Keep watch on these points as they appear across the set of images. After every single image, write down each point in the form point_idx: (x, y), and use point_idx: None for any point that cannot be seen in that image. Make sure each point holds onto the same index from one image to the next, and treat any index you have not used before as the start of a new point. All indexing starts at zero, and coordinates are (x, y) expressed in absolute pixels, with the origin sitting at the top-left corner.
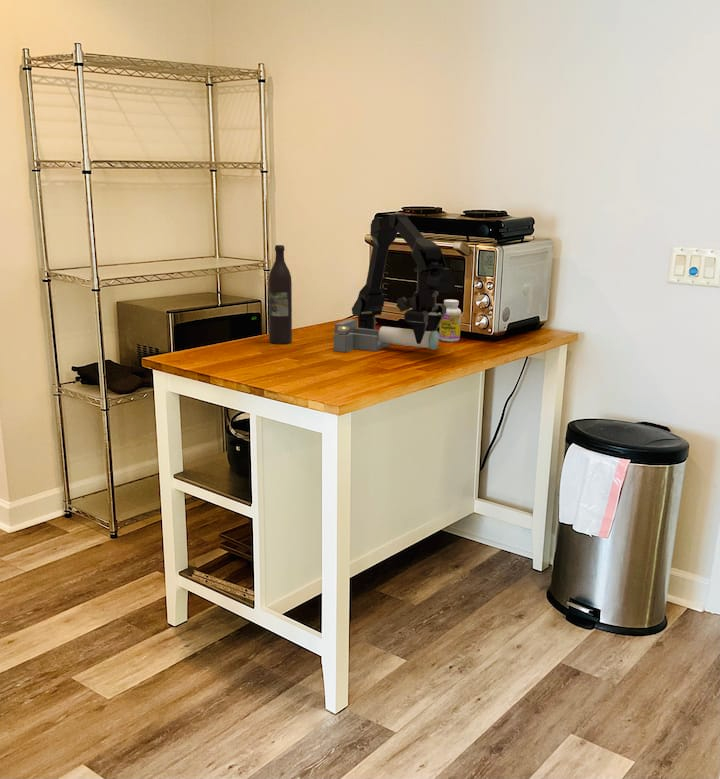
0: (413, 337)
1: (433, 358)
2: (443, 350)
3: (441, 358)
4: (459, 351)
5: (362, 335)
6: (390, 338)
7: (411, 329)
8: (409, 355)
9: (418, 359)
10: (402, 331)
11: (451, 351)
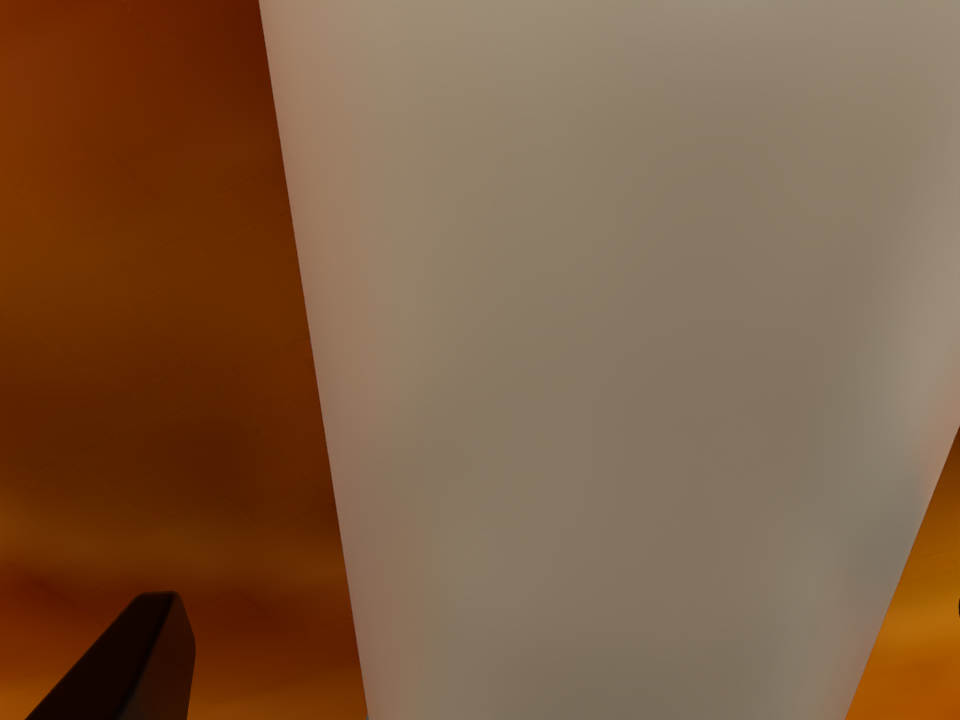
0: (341, 509)
1: (275, 618)
2: (951, 527)
3: (354, 682)
4: (939, 687)
5: None
6: None
7: (725, 496)
8: (191, 234)
9: (21, 494)
10: (404, 68)
11: (906, 624)
